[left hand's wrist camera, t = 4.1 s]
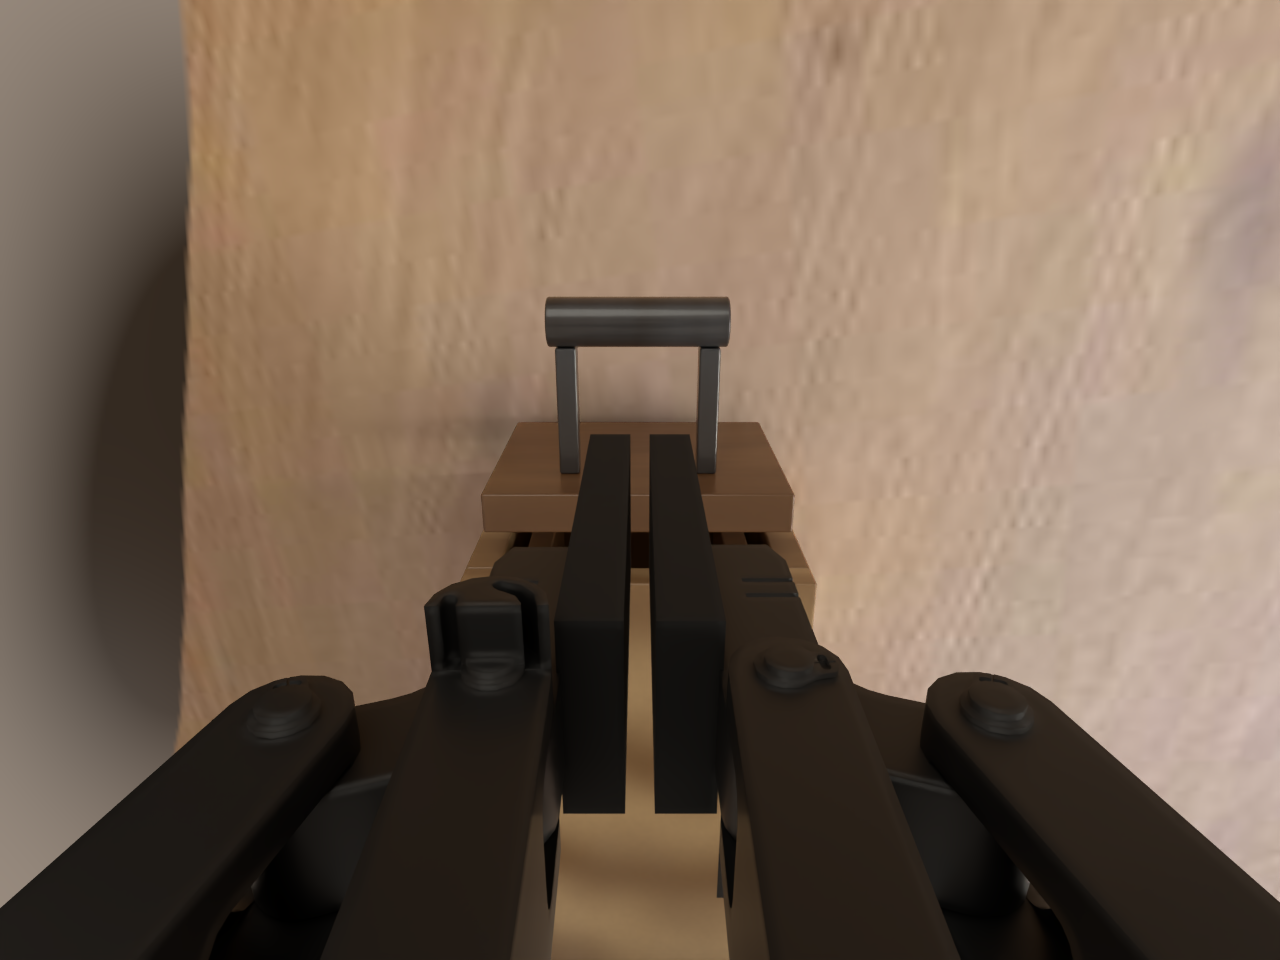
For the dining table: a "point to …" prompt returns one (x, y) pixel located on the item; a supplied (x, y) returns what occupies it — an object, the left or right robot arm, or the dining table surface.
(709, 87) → the dining table surface
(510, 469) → the drawer
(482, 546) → the wooden storage box
